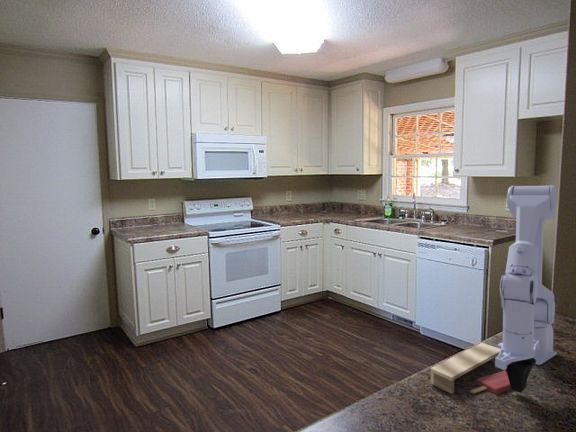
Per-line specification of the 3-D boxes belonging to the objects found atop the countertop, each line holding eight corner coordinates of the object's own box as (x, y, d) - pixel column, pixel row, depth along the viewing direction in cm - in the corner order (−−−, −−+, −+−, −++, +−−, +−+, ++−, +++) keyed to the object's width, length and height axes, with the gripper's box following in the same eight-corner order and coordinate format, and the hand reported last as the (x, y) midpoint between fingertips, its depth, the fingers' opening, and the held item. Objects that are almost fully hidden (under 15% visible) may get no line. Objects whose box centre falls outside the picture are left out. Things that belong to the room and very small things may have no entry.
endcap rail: (481, 356, 106) (481, 342, 106) (503, 364, 102) (503, 349, 101) (430, 383, 95) (430, 368, 94) (451, 393, 90) (451, 377, 90)
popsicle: (461, 383, 92) (509, 367, 98) (461, 389, 92) (509, 373, 98) (481, 394, 87) (530, 377, 93) (481, 401, 87) (529, 384, 93)
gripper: (516, 316, 94) (515, 371, 96) (481, 332, 86) (480, 393, 88) (549, 324, 89) (548, 384, 90) (515, 343, 80) (514, 408, 82)
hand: (517, 389), depth 89 cm, fingers closed
